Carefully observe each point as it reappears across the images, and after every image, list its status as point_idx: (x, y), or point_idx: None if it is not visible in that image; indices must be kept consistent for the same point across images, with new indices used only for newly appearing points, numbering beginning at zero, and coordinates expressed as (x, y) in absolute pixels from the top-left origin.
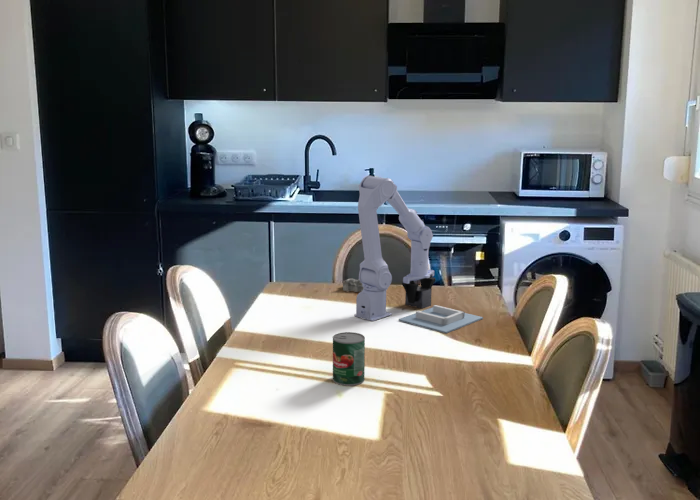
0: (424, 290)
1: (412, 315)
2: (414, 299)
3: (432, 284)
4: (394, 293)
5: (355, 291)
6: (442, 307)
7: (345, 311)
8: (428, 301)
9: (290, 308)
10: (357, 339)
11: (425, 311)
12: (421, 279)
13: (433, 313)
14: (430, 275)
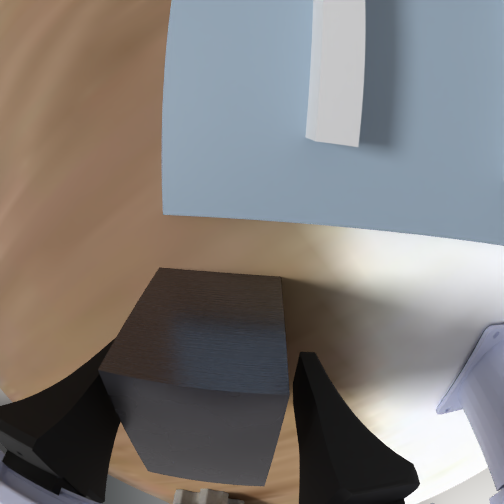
0: (226, 399)
1: (491, 227)
2: (314, 371)
3: (40, 397)
4: None
5: (243, 502)
6: (352, 31)
7: (462, 431)
8: (185, 294)
9: (456, 473)
10: None
11: (376, 198)
12: (97, 486)
13: (385, 112)
14: (14, 470)
